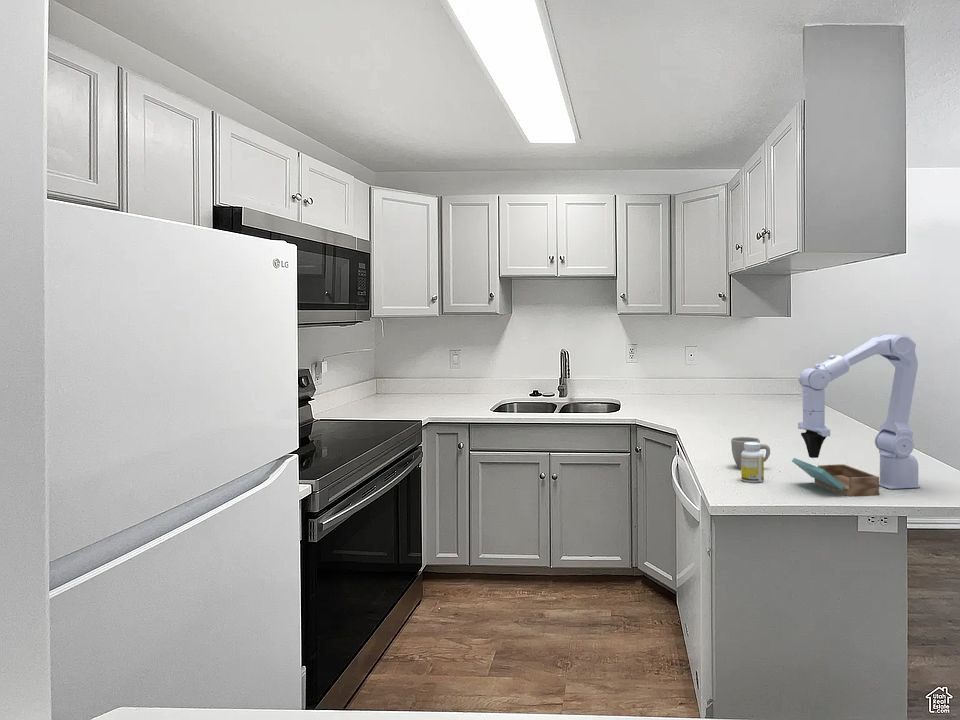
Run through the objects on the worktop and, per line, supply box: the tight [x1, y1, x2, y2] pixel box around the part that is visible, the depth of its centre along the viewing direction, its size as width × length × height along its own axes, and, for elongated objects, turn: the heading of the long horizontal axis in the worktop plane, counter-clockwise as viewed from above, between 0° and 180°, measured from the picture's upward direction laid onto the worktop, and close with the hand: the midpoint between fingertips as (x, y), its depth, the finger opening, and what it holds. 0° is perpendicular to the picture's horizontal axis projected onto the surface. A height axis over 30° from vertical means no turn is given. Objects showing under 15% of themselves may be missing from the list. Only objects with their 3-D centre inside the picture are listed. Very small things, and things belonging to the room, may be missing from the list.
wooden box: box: [814, 463, 880, 497], centre depth 218 cm, size 9×18×5 cm, turn 4°
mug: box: [730, 436, 771, 470], centre depth 248 cm, size 12×9×10 cm
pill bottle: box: [740, 442, 765, 484], centre depth 230 cm, size 6×6×12 cm
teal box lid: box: [791, 457, 846, 490], centre depth 217 cm, size 1×17×8 cm
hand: (813, 457), depth 217 cm, fingers closed
